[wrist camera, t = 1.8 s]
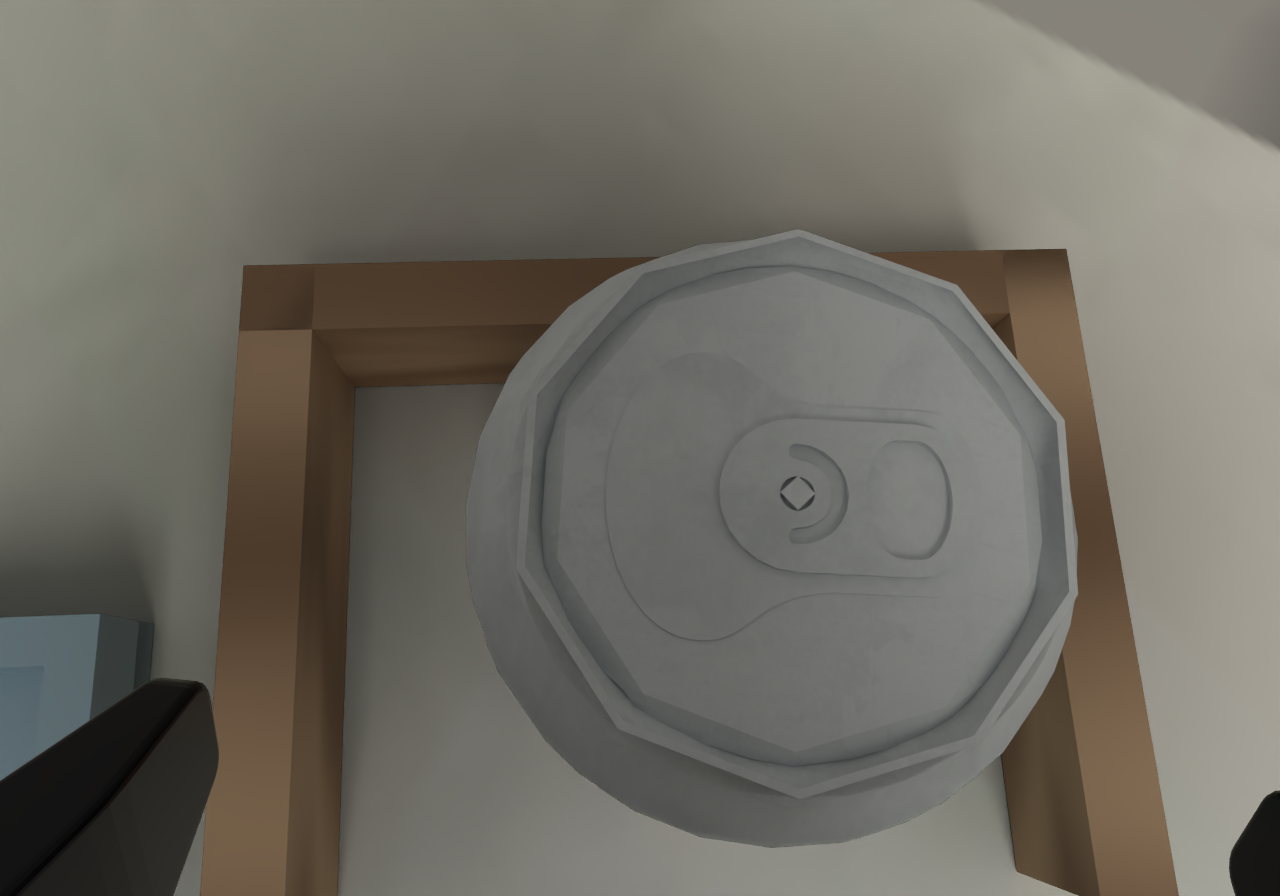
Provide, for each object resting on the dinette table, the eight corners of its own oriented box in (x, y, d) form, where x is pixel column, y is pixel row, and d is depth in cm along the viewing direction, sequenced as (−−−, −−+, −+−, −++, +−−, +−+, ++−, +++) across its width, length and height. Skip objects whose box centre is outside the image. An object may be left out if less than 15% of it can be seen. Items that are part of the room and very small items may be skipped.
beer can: (551, 499, 19) (478, 158, 7) (795, 511, 19) (1113, 197, 7) (533, 759, 17) (411, 857, 6) (796, 770, 18) (1180, 887, 6)
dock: (1082, 868, 17) (1179, 899, 14) (265, 913, 17) (195, 956, 14) (998, 315, 20) (1066, 248, 17) (296, 331, 19) (243, 265, 16)
